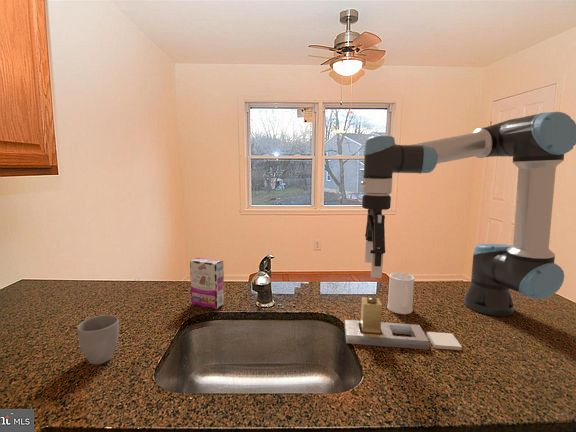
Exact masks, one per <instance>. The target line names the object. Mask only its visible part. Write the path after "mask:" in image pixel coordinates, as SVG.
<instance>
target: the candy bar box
mask: <svg viewBox="0 0 576 432" xmlns="http://www.w3.org/2000/svg"><path fill="white" fill-rule="evenodd" d="M189 268H190V269H189V273H190V274H189V275H190V297H191V298H190V299H191V305H193V306H198V307H203V308H207V309H212V310H218V309H219V308H221V307H223V306H224V305H225V284H224V283H225V281H224V280H225V279H224V260H221V259H211V258H206V257H205V258H204V257H196V258H194V259H192V260H190V261H189Z"/></svg>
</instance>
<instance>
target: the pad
mask: <svg viewBox="0 0 576 432" xmlns="http://www.w3.org/2000/svg"><path fill="white" fill-rule="evenodd" d="M426 337H427V338H428V340H429V342H431V344H432V346H433V348H434V349H440V350H441V349H442V350H452V351H453V350H454V351H463V346H462V345H461V343H460V342H459V341H458V339H457V338H456V337H455V336H454V334H453V333H447V332H434V331H427V332H426Z"/></svg>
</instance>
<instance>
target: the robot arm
mask: <svg viewBox="0 0 576 432" xmlns="http://www.w3.org/2000/svg"><path fill="white" fill-rule="evenodd" d="M574 146H576V122H575V120H574V119H572V117H571V116H570V114H569V115H568V114H567V113H566V112H562V111H550V112H540V113H537V114H532V115H527V116H522V117H517V118H512V119H508V120H504V121H500V122H498V123H494V124H492V125H488V126H486V127H480V128H476V129H475V130H473V131H472V132H470V133H465V134H460V135H459V134H458V135H456V136H455V135H454V136H449V137H444V138H439V139H434V140H428V141H423V142H418V143H412V144H404V145H403V144H396V141H395V137H394V136H392V135H391V136H389V135H373V136H370V137H367V138H366V141H365V145H364V154H363V155H364V157H363V158H364V162H363V163H364V164H363V181H361V182H360V185H361V186H363V187H362V193H364V194H363V195H362V199H361V201H362V202H361V207H362V208H363V209H365V210H367V216H366V225H365V226H366V227H365V233H364V237H365V240H366V241H365V250H364V253H365V254H364V263H368V264H371V266H370V267H371V268H370V278H372V279H373V278H374V279H375V278H376V279H382V278H383V262H384V254H386V236H385V233H386V232H385V230H386V229H385V220H386V217H385V214H383V210H384V211H387V210H390V209H391V202H392V196H391V195H390V194H392V193H393V192H392V190H393V189H392V188H393V174H395V173H397V174H420V175H422V174H429V173H431V172H433V171H434V170H435V168H436V167H437V165H438V164H441V163H447V162H452V161H453V162H454V161H457V160H463V159H468V158H474V157H476V159H477V158H478V159H483V158H490V157H491V158H492V157H508V158H509V157H512V163H513V165H514V166H516V167H517V170H518V172H517V182H516V183H517V184H516V197H515V199H516V201H515V213H514V225H513V226H514V228H513V241H512V244H511V245H510V244H505V243H504V244H503V243H502V244H501V243H478V244H476V245H475V247H474V251H473V255H472V266H471V279H470V284H469V286H468V288H467V290H466V291H465V294H464V296H463V304H464V305H465V306H466V307H467V308H468V309H470V310H472V311H476V312H478V313H480V314H484V315H489V316H493V317H494V316H497V317H508V316H511V315H513V314H514V311H515V310H514V309H515V305H514V302H513V298H512V293H511V290H512V291H514V292H517V293H519V294H521V295H522V296H525V297H528V298H531V299H534V300H535V299H536V300H545V299H549V298H550V297H552V296H553V295H555V294H556V293H557V292H558V291H559V290H560V288H561V287H562V286H563V284H564V280H565V273H564V272H565V271H564V270H563V268H562V267H561V266H560V265H558V264H557V263H555V260H556V254H555V253H554V252H553V251H552V250H551V249H550V238H551V225H552V215H553V207H554V206H553V203H554V191H555V182H556V181H555V180H556V170H557V167H558V166H559V165H560V164H562V162H564V161H565V155H566V154H567V153H569V152H570V151H572V150H573V149H574Z"/></svg>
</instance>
